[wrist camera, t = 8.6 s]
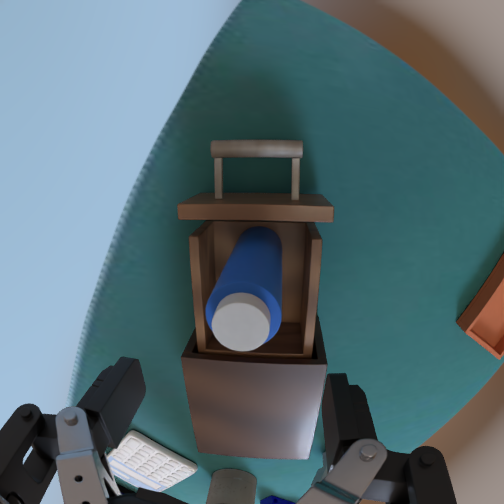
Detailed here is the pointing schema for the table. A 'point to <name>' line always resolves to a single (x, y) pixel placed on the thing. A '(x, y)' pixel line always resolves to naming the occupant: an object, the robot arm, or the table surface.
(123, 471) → the calculator
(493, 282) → the tray
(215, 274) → the drawer
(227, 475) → the thermos bottle
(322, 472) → the lighter
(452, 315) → the table surface
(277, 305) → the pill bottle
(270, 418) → the cabinet
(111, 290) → the table surface
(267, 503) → the cable holder
